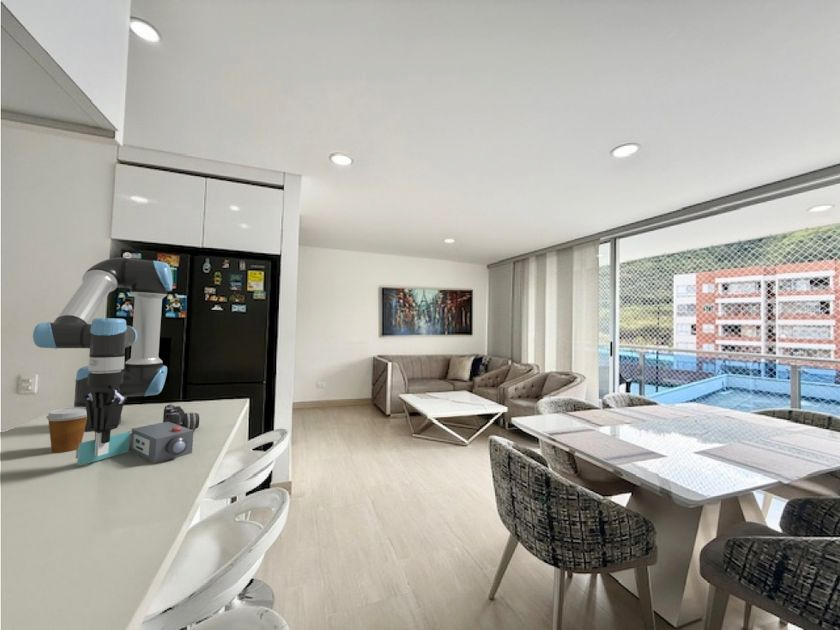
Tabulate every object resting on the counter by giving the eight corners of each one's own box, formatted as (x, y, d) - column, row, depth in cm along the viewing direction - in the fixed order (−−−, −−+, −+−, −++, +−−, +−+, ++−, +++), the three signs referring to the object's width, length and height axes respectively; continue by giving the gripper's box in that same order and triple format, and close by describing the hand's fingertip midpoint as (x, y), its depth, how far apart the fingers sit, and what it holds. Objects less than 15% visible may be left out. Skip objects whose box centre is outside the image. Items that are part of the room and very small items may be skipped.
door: (127, 449, 105) (129, 430, 105) (131, 450, 105) (132, 431, 105) (75, 464, 94) (76, 442, 94) (79, 465, 93) (80, 443, 93)
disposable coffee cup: (54, 456, 99) (58, 415, 99) (36, 451, 102) (39, 411, 102) (94, 446, 108) (97, 408, 108) (76, 441, 111) (79, 405, 111)
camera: (202, 435, 122) (204, 408, 123) (165, 442, 114) (167, 412, 115) (193, 426, 132) (195, 400, 133) (158, 431, 125) (160, 404, 125)
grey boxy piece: (129, 451, 105) (131, 426, 105) (166, 442, 114) (168, 419, 114) (158, 465, 96) (159, 438, 96) (196, 454, 105) (197, 429, 105)
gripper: (73, 371, 94) (68, 457, 94) (109, 374, 92) (104, 461, 91) (103, 368, 102) (98, 447, 101) (137, 370, 99) (133, 451, 98)
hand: (101, 454), depth 96 cm, fingers closed
